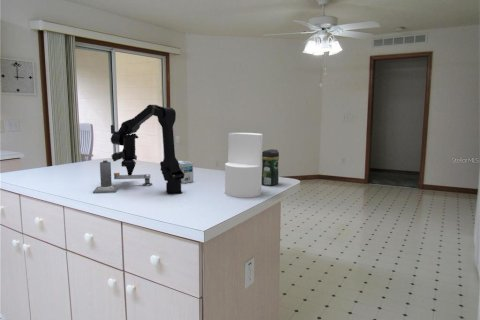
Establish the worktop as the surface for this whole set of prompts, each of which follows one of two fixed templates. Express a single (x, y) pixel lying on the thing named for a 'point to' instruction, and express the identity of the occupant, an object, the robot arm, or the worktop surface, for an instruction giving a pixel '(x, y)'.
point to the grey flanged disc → (147, 182)
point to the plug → (105, 175)
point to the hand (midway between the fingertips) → (129, 176)
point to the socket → (106, 190)
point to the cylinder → (244, 165)
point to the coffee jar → (270, 167)
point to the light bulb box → (186, 171)
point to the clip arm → (131, 176)
